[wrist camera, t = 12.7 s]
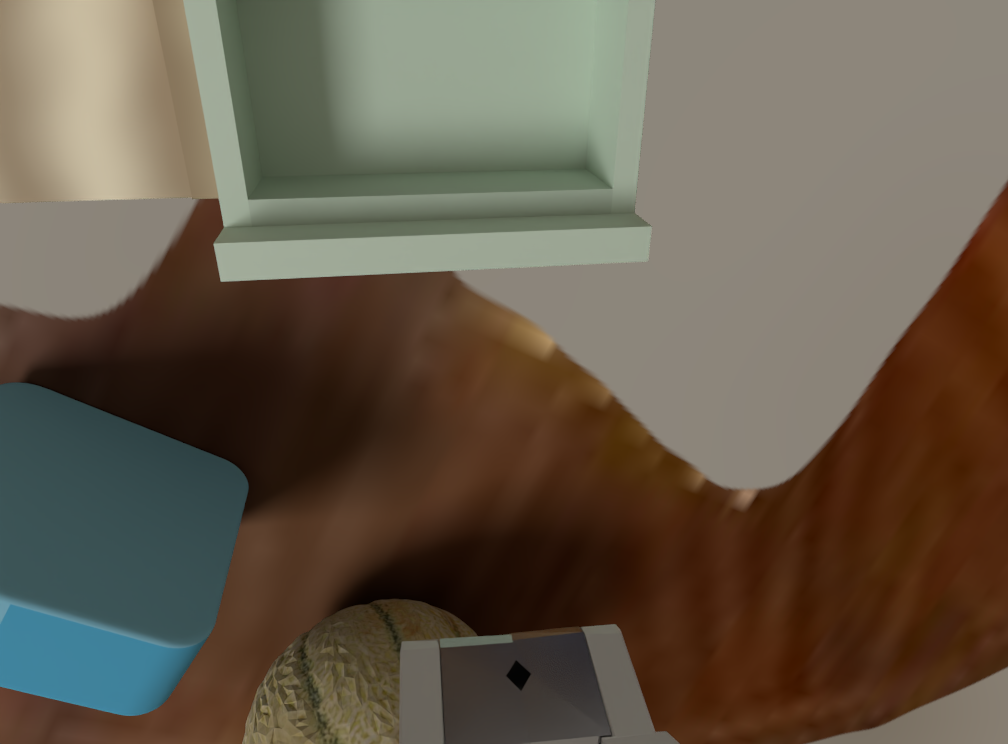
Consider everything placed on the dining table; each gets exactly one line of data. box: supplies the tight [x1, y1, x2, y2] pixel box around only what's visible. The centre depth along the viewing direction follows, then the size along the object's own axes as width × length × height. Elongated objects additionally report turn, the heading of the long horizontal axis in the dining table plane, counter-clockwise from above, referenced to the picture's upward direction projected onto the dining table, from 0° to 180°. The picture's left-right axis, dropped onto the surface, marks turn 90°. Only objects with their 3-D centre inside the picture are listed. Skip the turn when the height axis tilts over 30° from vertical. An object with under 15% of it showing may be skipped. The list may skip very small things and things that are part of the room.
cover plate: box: [0, 0, 219, 203], centre depth 26 cm, size 15×9×4 cm, turn 89°
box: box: [183, 0, 656, 282], centre depth 26 cm, size 16×13×7 cm
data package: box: [0, 383, 249, 716], centre depth 30 cm, size 12×4×12 cm, turn 56°
